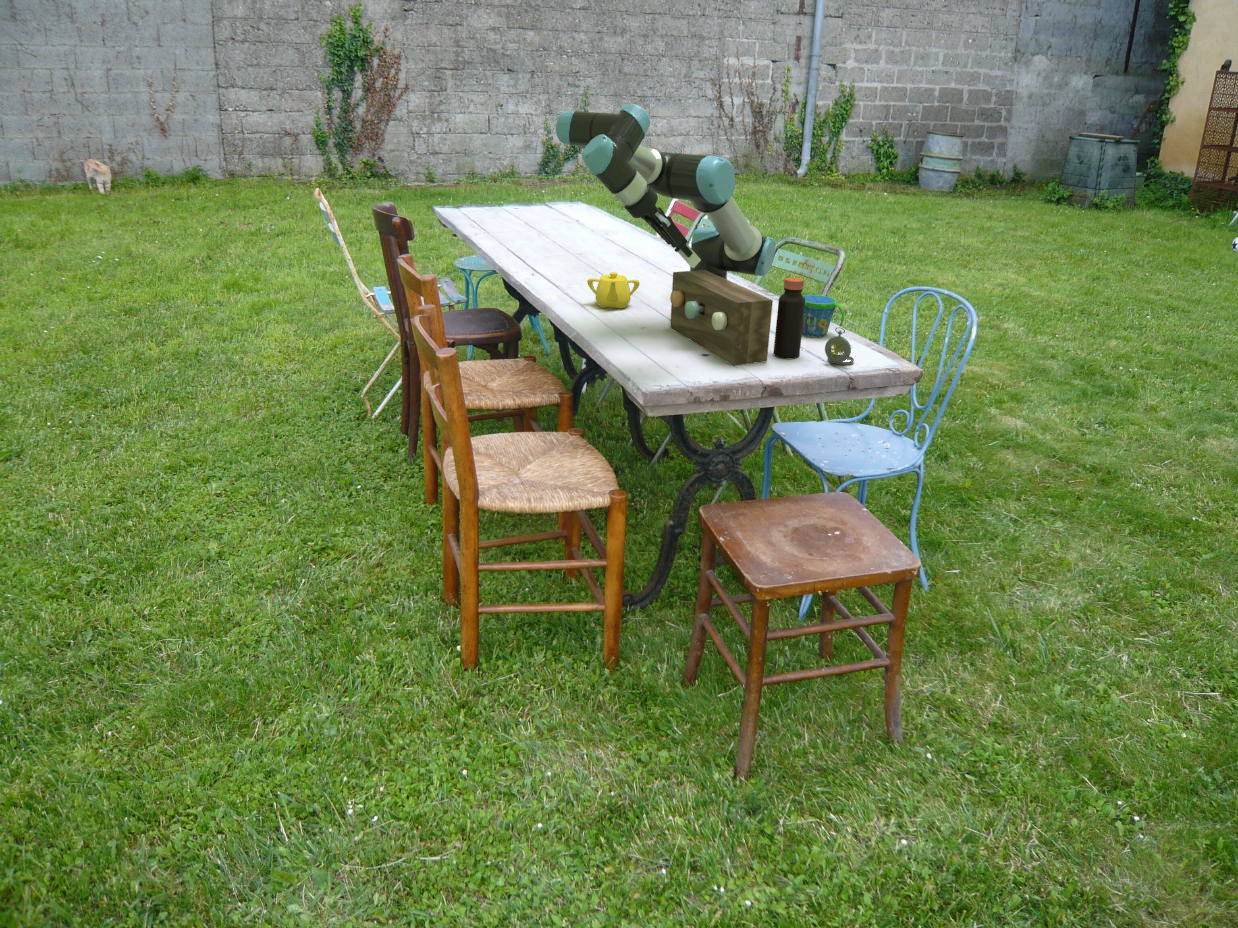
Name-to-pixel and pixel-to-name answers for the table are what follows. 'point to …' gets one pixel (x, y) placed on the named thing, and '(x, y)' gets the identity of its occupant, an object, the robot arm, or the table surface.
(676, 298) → the terracotta button
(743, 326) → the console
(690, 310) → the teal button
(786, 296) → the bottle
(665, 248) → the table surface
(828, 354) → the pocket watch
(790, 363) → the table surface
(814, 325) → the snack cup
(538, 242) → the table surface
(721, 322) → the cream button
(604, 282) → the yellow handled pot
